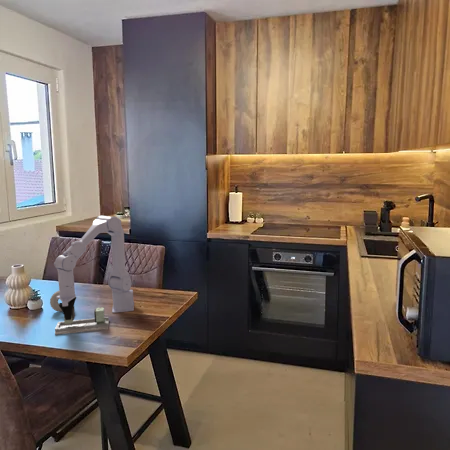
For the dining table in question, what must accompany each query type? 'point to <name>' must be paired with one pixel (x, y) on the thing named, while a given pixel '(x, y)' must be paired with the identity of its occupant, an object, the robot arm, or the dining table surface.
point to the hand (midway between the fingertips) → (69, 317)
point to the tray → (84, 324)
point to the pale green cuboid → (71, 318)
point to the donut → (55, 302)
